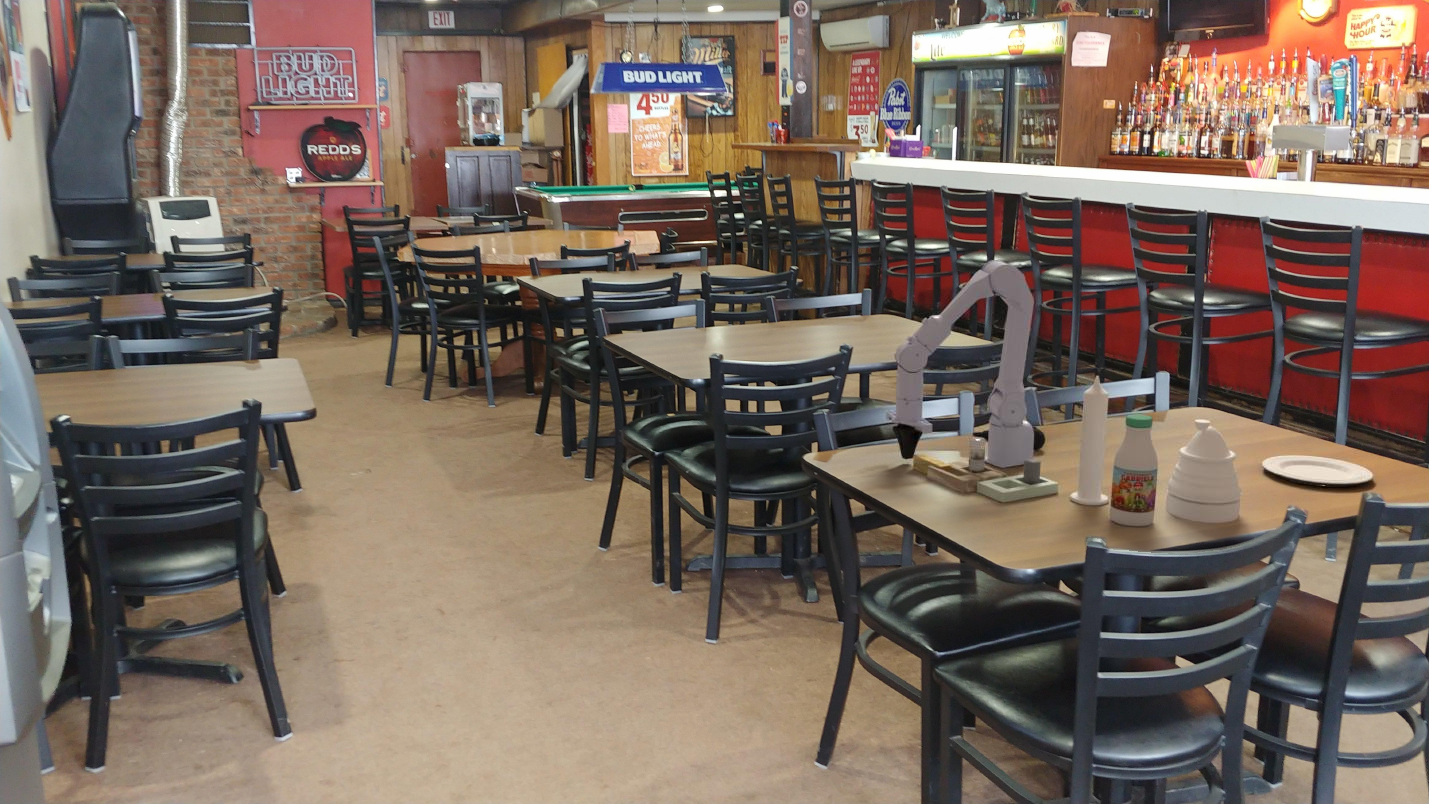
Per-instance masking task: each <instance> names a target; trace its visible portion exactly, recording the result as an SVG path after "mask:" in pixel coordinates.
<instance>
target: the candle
mask: <svg viewBox="0 0 1429 804" xmlns="http://www.w3.org/2000/svg"><path fill="white" fill-rule="evenodd" d="M1109 395H1110V394H1109V391H1107V390H1105V389H1104V388H1103V387H1102V384H1101V381H1100V376H1099V375H1096V376H1095V379H1094V383H1093V384H1092V386H1090V387H1089V388H1088V389H1086V390H1085V391H1084V392H1083V405H1082V417H1081V431H1080V432H1081V433H1080V434H1081V435H1080V446H1079V447H1080V449H1079V463H1078V464H1079V465H1078V478H1077V480H1078V481H1077V491H1074V492H1072V493H1070V496H1069V499H1070V501H1072V502H1073V503H1076V504H1078V505H1079V504H1080V505H1084V506H1102V505H1106V504H1108V501H1109V496H1107V495H1105V494H1103V492H1102V490H1103V481H1104V479H1103V477H1104V467H1105V465H1104V464H1105V453H1106V449H1105V448H1106V436H1107V424H1108V422H1107V421H1108V409H1109V408H1108V407H1109Z"/></svg>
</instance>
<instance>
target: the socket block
mask: <svg viewBox="0 0 1429 804" xmlns="http://www.w3.org/2000/svg"><path fill="white" fill-rule="evenodd" d="M946 463H947V462H946ZM947 464H949V465H951V473H949V472H946V471H944V470H941V469H939V468H936V467H934V466H928V475H927V479H930V480H932V481H934V482H937V483H939V484H941V485H944V486H946V487H948V488H951V489H952V490H955V491H958V492H961V493H962V494H965V493H970V492H977V482H981V481H987V480H993V479H999V478H1005V477H1008V473H1006V472H1003V471H1001V470H999V469H998V470H997V469H995V468H992V467H990V466H988V465H985V464H984V472H981V473H975V474H974V473H972V472H969V471H968V467H969V459H965V460H959V461H954V462H948V463H947Z"/></svg>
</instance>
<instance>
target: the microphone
mask: <svg viewBox="0 0 1429 804" xmlns="http://www.w3.org/2000/svg"><path fill="white" fill-rule="evenodd" d="M1032 428H1033V431H1034V445H1033V450H1034V451H1037V450H1040V449H1042V448H1043V447H1044V445H1045V443H1046V436H1045V432H1043V431H1042V430H1041V429H1039V428H1037V427H1036V426H1032ZM972 435H973V436H974V437H975V436H976V437H980V438H984V439H986V441H988V437H989V429H988V430H986V429H985V430H983V431H975V432H972Z"/></svg>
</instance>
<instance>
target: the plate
mask: <svg viewBox="0 0 1429 804" xmlns="http://www.w3.org/2000/svg"><path fill="white" fill-rule="evenodd" d="M1261 465H1262V468H1263V469H1264V470H1265V471H1267V473H1268V472H1269V473H1271V474H1273V475H1275V476H1278V477H1279V476H1280V478H1281V479H1284V480H1286V479H1287V481H1290V480H1291V481H1290V482H1293V481H1295V482H1294V483H1297V482H1300V483H1299V484H1302V483H1306V484H1305V485H1307V484H1312V485H1311V486H1314V485H1325V486H1343V487H1348V486H1347V485H1350V486H1355V485H1360V484H1366V483H1368V482H1370V481H1372V480H1373V479H1374V474H1373V473H1372V471H1370V470H1369V469H1367V468H1366V467H1363V466H1362V465H1359V464H1356V463H1353V462H1349V461H1345V460H1341V459H1336V458H1331V457H1329V458H1328V457H1322V456H1314V455H1313V456H1311V455H1292V454H1291V455H1278V456H1271V457H1268V458H1266V459H1264V460H1263V461H1262V462H1261Z"/></svg>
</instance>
